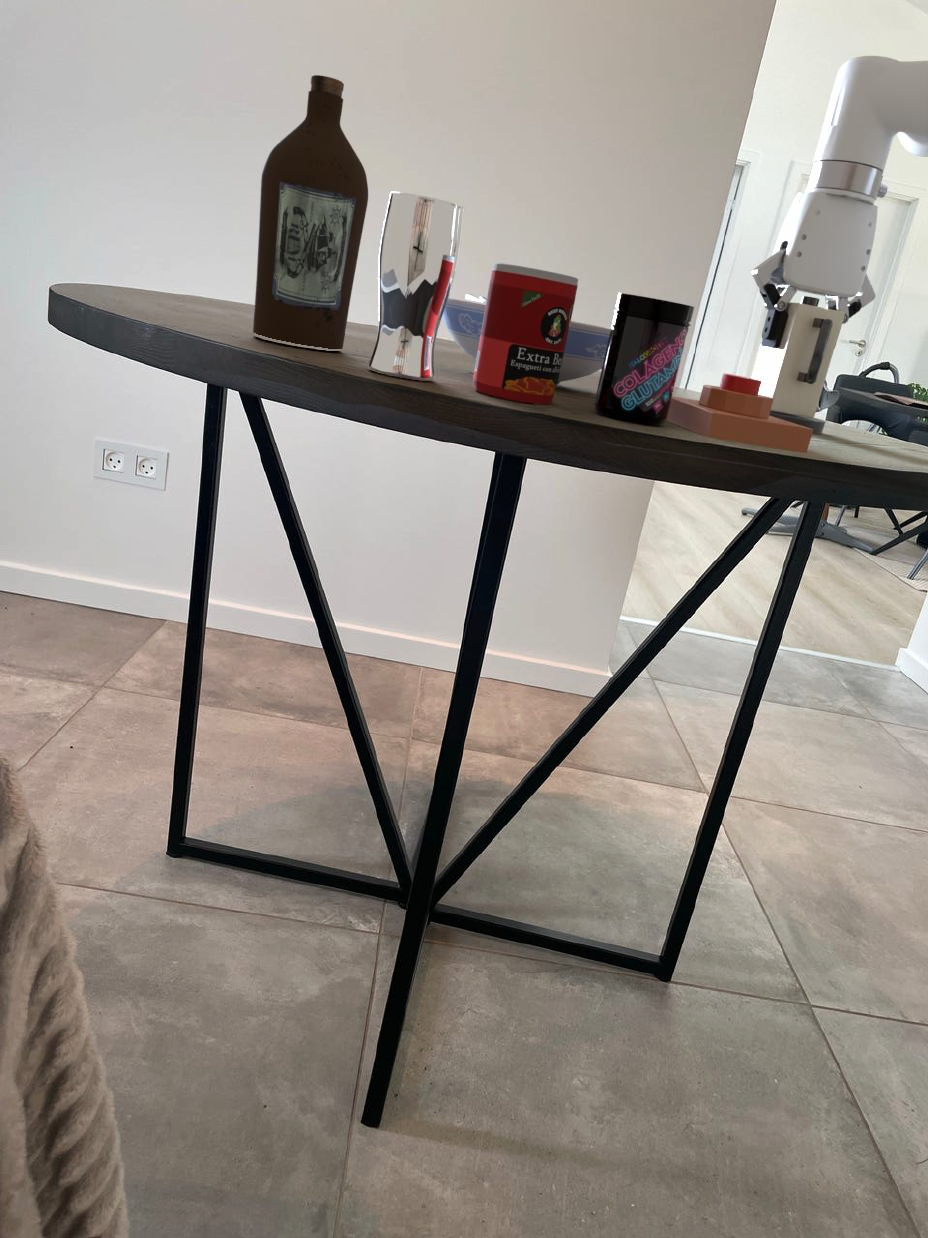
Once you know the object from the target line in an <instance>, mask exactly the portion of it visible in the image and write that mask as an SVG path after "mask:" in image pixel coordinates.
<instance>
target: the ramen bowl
mask: <svg viewBox="0 0 928 1238" xmlns="http://www.w3.org/2000/svg"><path fill="white" fill-rule="evenodd" d="M466 300H469V301H466ZM486 300H487V297H485V296H481V295H480V296H479V298H478V297H476V296H474V295H472V294H470V293H465V298H464V300H461V299H455V298H450V297H449V298H448V301H447V304H446V307H445V310H444V312H443V315H442V320H443V321H444V324H445V326H446V328H447V330H448V332H449V335H450V336H451V337H452V339H453V341H454V342H455V344H457V346H458V347H459V348H460V349H462V351H463V352H465V354H467V355H469V356H470V357H471V358H472V359H474V360H475V361H476V358H477V353H478V347H479V341H480V335H481V329H482V324H483V318H484V312H485V306H486ZM477 302H479V303H477ZM610 330H611V327H606V326H599V325H594V324H590V323H583V322H580V321H574V320H571V322H570V326H569V331H568V336H567V341H566V345H565V350H564V355H563V360H562V365H561V369H560V374H559V379H558V384H557V385H559V384H560V383H562V382H568V381H572V380H576V379H580V378H583V377H588V376H590V375H592V374H595V373H597V372H598V371H600V370H602V366H603V361H604V357H605V352H606V348H607V343H608V339H609V334H610Z"/></svg>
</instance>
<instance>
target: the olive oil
mask: <svg viewBox="0 0 928 1238" xmlns="http://www.w3.org/2000/svg"><path fill="white" fill-rule="evenodd" d="M344 87H345V84H344V83H343V81H342V80H339V79H337V78H334V77H330V76H325V75H319V74H315V75H312V76H311V77H310V90H309V91H307V92H308V93H307V102H306V115H305V117H304V119H303V121H301V123H300V124H298V126H297V127H295V128H294V129H293V130H292V131H291V132H289V133H288V134H287V135H286V136H285V137H284V138H283V139H281V140H280V141H279V142H278V143H277V144H276V145H275V146H274V147H273V148H272V149H271V150H270V152H269V154H268V156H267V158H266V160H265V163H264V166H263V169H262V172H261V179H260V195H259V196H260V199H259V220H258V221H259V224H258V242H257V243H258V244H257V261H256V262H257V263H256V279H255V281H256V282H255V293H254V294H255V295H254V309H253V310H254V311H253V323H252V333H253V332H254V333H256V334H258V335H262V336H265V337H268V338H272V339H276V340H281V341H286V342H291V343H295V344H301V345H307V346H314V347H322V348H328V349H342V350H343V348H344V342H345V335H346V329H347V324H348V316H349V311H350V305H351V304H350V303H351V298H352V291H353V284H354V280H355V274H356V269H357V264H358V258H359V253H360V247H361V241H362V236H363V230H364V225H365V219H366V213H367V209H368V202H369V185H368V177H367V173H366V169H365V167H364V165H363V164H362V163H363V162H361V160H360V158H359V156H358V155H357V153H356V151H355V150H354V148H353V147H352V145H351V143H350V141H349V140H348V138H347V136H346V135H345V132H344V130H343V129H342V126H341V118H342V112H343V104H344V98H343V92H344Z"/></svg>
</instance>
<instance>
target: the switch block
mask: <svg viewBox="0 0 928 1238" xmlns="http://www.w3.org/2000/svg"><path fill="white" fill-rule="evenodd" d="M773 400H774V399H773V398H771V397H767V396H763V395H759V394H758V396H754V395H748V394H743V393H738V392H733V391H728V390H724V389H720V386H719V385H718V386H717V385H710V384H703V386H702V390H701V393H700V397H699V400H696V399H691V398H685V397H680V396H679V397H678V396H674V395H672V399H671V404H670V408H669V412H668V416H667V420H666V421H667V422H669V423H672V424H674V425H677V426H679V427H682V428H684V429H687V430H688V431H689V430H690V431H692V432H694V433H696V434H699V435H701V436H705V437H707V438H713V439H719V440H724V441H730V442H737V443H743V444H744V443H745V444H748V445H755V444H756V445H755V446H761V445H762V447H767V446H768V447H767V448H774V449H780V450H786V451H791V452H792V451H793V452H798V451H799V453H804V452H805V454H807V452H808V449H809V446H810V443H811V439H812V436H813V434H812V433H813V429H811V428H808V427H804V426H801V425H798V424H795V423H792V422H788V421H785V420H782V419H779V418H775V417H772V416H769V414H770V410H771V407H772V403H773Z"/></svg>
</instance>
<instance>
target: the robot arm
mask: <svg viewBox="0 0 928 1238" xmlns="http://www.w3.org/2000/svg"><path fill="white" fill-rule="evenodd" d="M896 135H897V136H898V140H899V142H900V144H901V145H902V147H903V149H905V150H906V151H908V152H909V154H912V155H914V156H917V157H922V158H928V60H914V61H913V60H912V61H910V60H909V61H908V60H907V61H905V60H903V61H900V60H898V59H895V58H892V57H887V56H880V55H861V56H856V57H852V58H850V59H849V60H846V61H845V62H844V63H843V64H842V65H841V66H840V68H839V70H838V72H837V73H836V78H835V81H834V84H833V87H832V91H831V96H830V99H829V103H828V106H827V110H826V114H825V117H824V121H823V124H822V128H821V132H820V136H819V139H818V143H817V147H816V150H815V153H814V158H813V162H812V165H811V169H810V172H809V176H808V180H807V184H806V186H805V191H800V192H797V193H796V195H795V197H794V199H793V201H792V203H791V206H790V207H789V210H788V212H787V213H786V216H785V219H784V220H783V224H782V226H781V228H780V231H779V234H778V237H777V239H776V243H775V245H774V249H773V251H772V255H770V256H769V257H768V258H767V259H765V260H764V261H762V262H761V263H759V265H757V266H755V268H753V269H752V271H751V276H752V277H753V280H754V282H755V284H756V286H757V288H758V289H759V290H758V291H759V293H760V296H761V298H762V300H763V302H764V308H765V310H767V312H766V315H765V316H766V317H765V320H764V324H763V328H762V331H761V343H760V346H761V345H762V346H765V347H770V348H776V349H777V348H779V347H780V344H781V340H782V336H783V333H784V329H785V326H786V322H787V318H788V313H786V312H785V309H786V307H787V305H788V304H789V302H792V300H793V298H794V297H795V295H796V294H797V292H802V293H807V294H811V295H817V296H822V297H824V300H825V308H826V309H831V310H836V311H841V312H845V315H844V318H843V321H842V325H841V328H840V331H839V335H838V338H837V341H836V345H835V348H834V350H835V349H836V346H837V342H838V339H839V336H840V333H841V329H842V326H843V325H845V324H847V323H848V322H849V319H850V318H852V317H853V316H855V315H856V314H857V313H859V312H861V309H863V308H865V307H866V306H867V305H868V304H870V303H872V302H873V301H874V300H875V299H876V292H875V290H874V287H873V285H872V283H871V281H870V279H869V278H870V277H869V276H868V274H867V271H868V267H869V264H870V260H871V257H872V251H873V246H874V242H875V241H874V240H875V234H876V230H877V229H876V228H877V221H878V220H877V219H878V208H879V206H878V205H875V201H877V199H878V198H880V199H883V198H884V197H885V196H886V195H887V194H888V193H887V192H888V185H886V184H883V182H882V181H883V177H884V171H885V167H886V165H887V161H888V157H889V154H890V150H891V147H892V145H893V140H894V138H895V137H896ZM849 298H852V299H851V300H849ZM762 338H763V339H762Z"/></svg>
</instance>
